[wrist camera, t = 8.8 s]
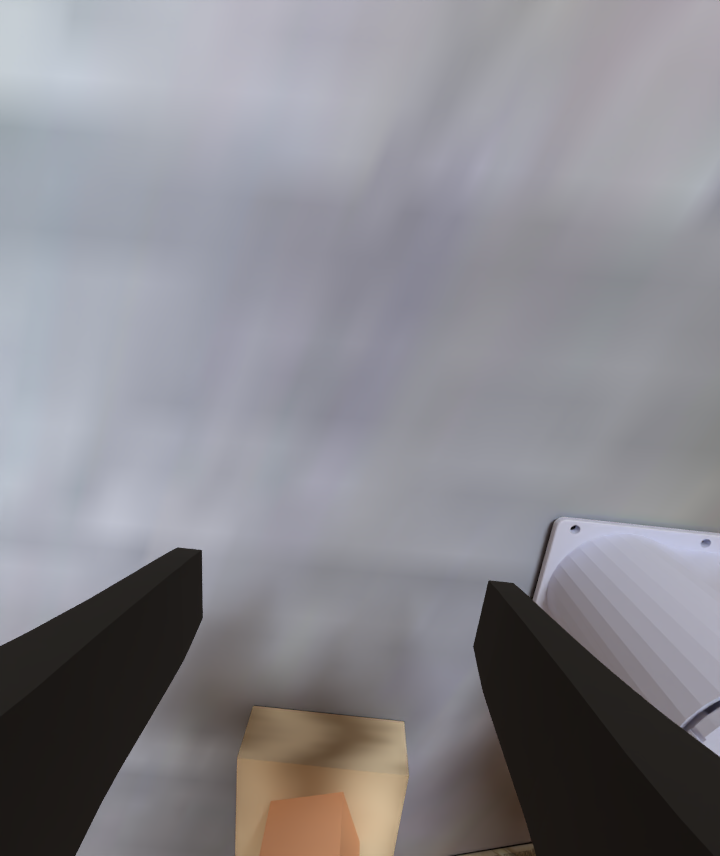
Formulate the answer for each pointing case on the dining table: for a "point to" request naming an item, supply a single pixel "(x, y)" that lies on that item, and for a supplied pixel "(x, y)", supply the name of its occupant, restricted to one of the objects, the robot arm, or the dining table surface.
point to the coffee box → (507, 851)
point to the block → (310, 827)
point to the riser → (322, 772)
